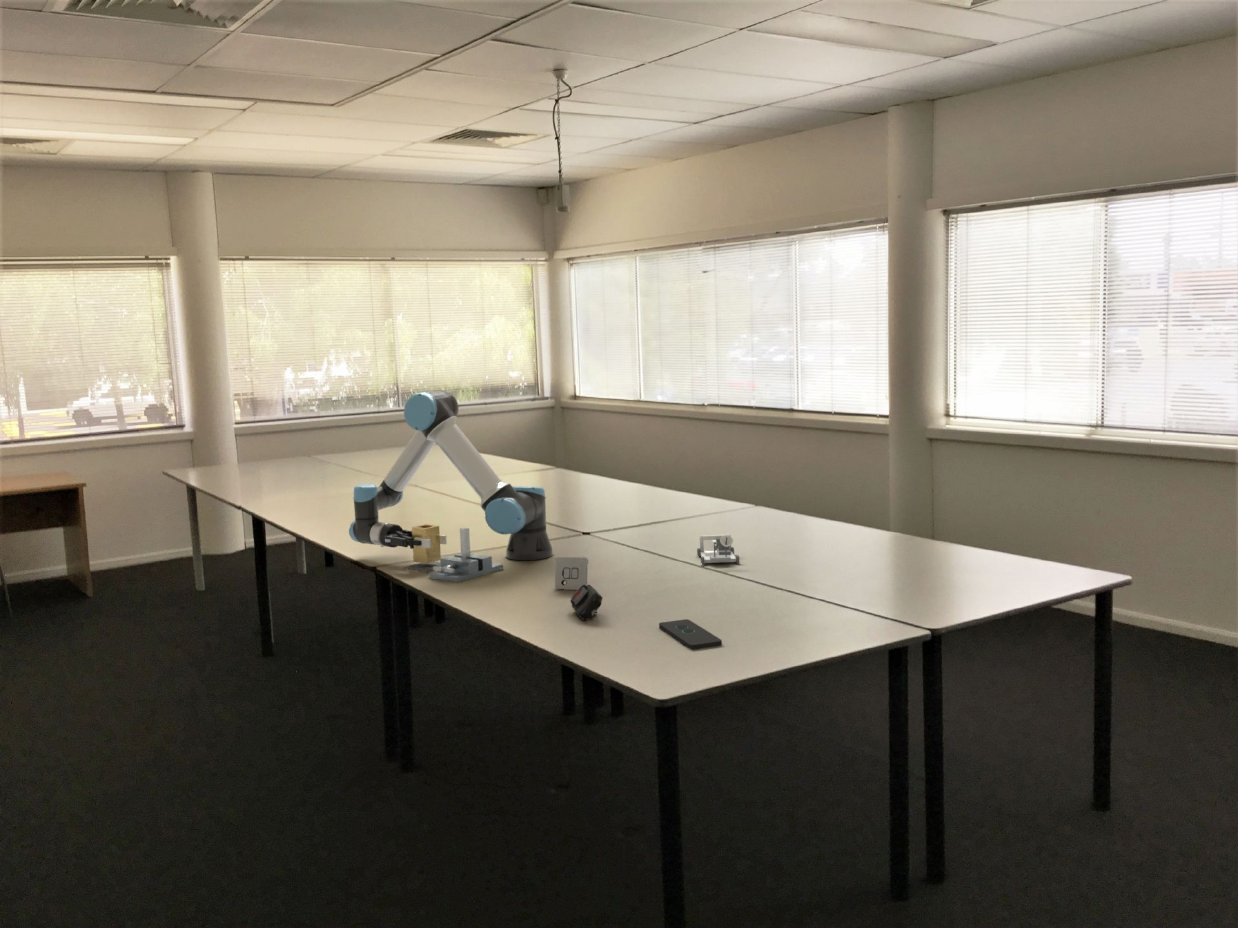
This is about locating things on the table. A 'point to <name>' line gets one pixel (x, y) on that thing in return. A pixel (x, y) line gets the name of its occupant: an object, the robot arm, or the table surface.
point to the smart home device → (690, 634)
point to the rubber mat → (423, 566)
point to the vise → (464, 563)
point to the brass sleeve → (434, 552)
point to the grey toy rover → (716, 549)
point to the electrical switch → (571, 572)
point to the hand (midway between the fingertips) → (437, 541)
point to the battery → (586, 601)
